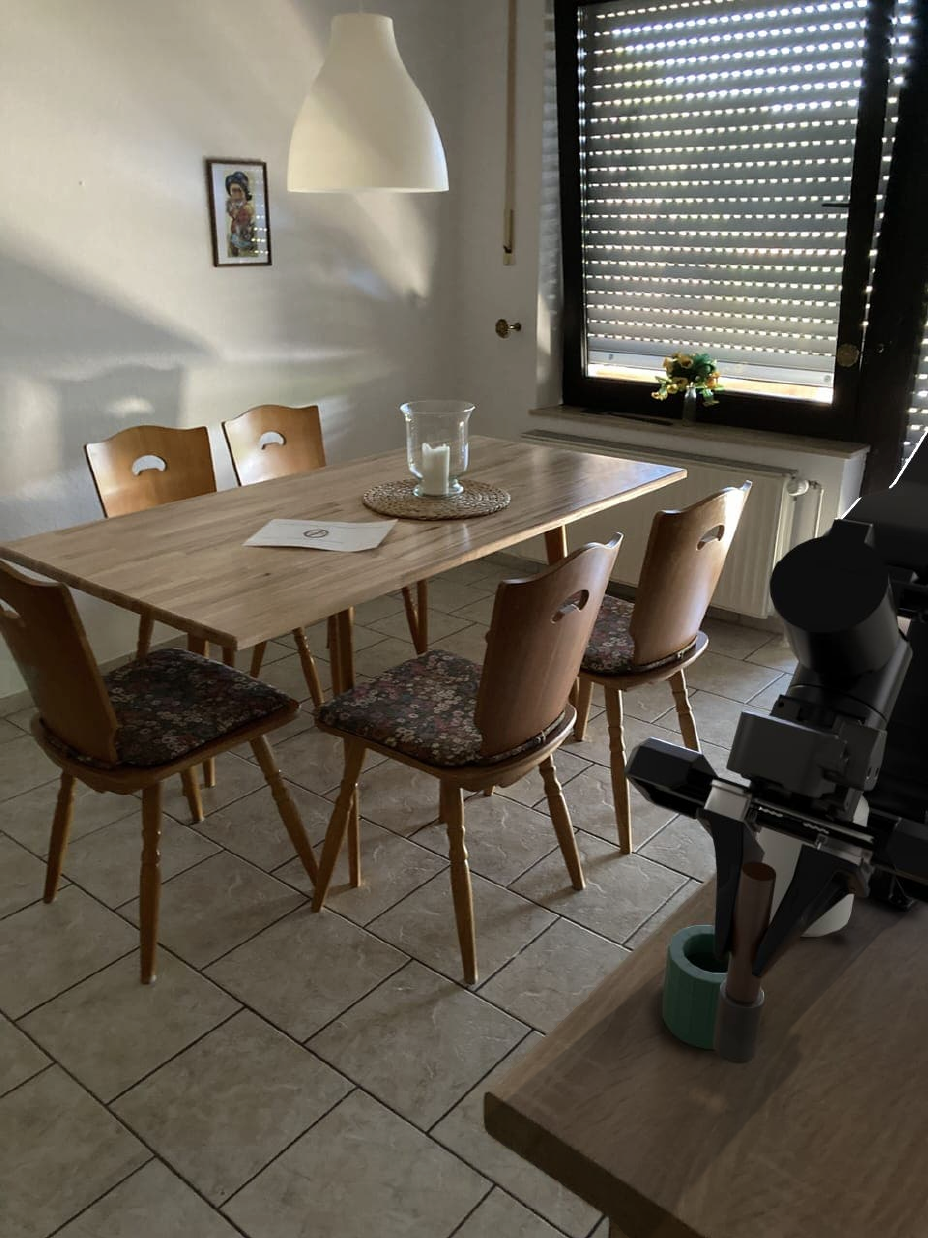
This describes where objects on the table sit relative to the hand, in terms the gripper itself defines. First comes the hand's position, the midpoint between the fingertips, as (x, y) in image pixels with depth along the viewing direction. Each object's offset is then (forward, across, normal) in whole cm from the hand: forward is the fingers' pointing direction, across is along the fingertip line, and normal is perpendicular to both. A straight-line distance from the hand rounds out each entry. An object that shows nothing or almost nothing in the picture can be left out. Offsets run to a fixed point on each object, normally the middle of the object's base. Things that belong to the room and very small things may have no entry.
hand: (736, 968), depth 55 cm
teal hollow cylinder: (+3, -5, +16) cm, 17 cm away
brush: (+4, 0, +6) cm, 7 cm away
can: (-8, -4, +27) cm, 28 cm away
